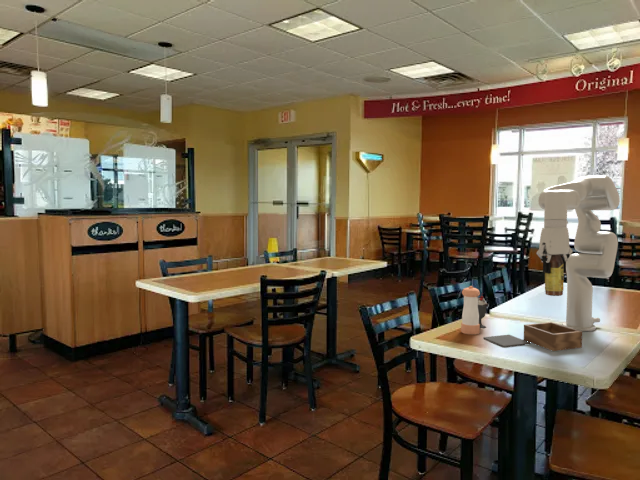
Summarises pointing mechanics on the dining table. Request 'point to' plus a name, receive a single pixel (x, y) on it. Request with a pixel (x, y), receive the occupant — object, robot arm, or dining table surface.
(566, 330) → the caddy
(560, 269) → the sauce bottle
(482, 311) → the sundae
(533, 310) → the dining table surface
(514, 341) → the mat
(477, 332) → the salt shaker
